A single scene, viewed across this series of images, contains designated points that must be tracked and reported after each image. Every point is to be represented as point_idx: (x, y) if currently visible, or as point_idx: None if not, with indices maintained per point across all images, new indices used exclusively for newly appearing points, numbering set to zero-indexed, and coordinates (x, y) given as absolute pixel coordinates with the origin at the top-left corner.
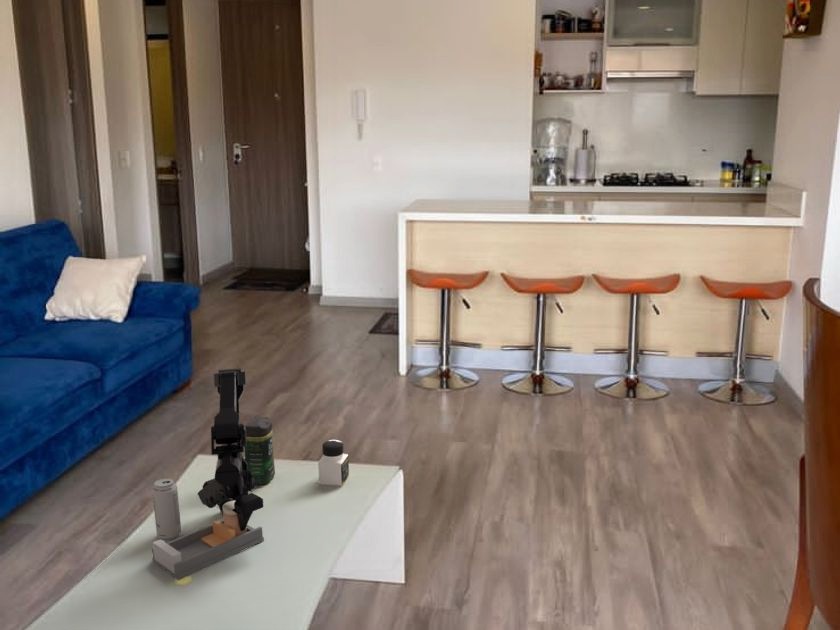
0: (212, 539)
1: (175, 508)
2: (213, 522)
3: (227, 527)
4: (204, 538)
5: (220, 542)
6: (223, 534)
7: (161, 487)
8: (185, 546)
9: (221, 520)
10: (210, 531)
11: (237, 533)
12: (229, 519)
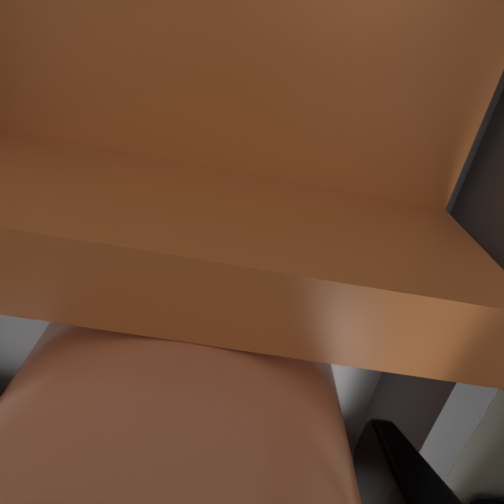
0: (329, 72)
1: None
2: (499, 302)
3: (63, 295)
4: (472, 24)
5: (153, 73)
6: (170, 191)
7: None
8: None
9: (471, 420)
10: (491, 201)
11: None
12: (9, 483)
